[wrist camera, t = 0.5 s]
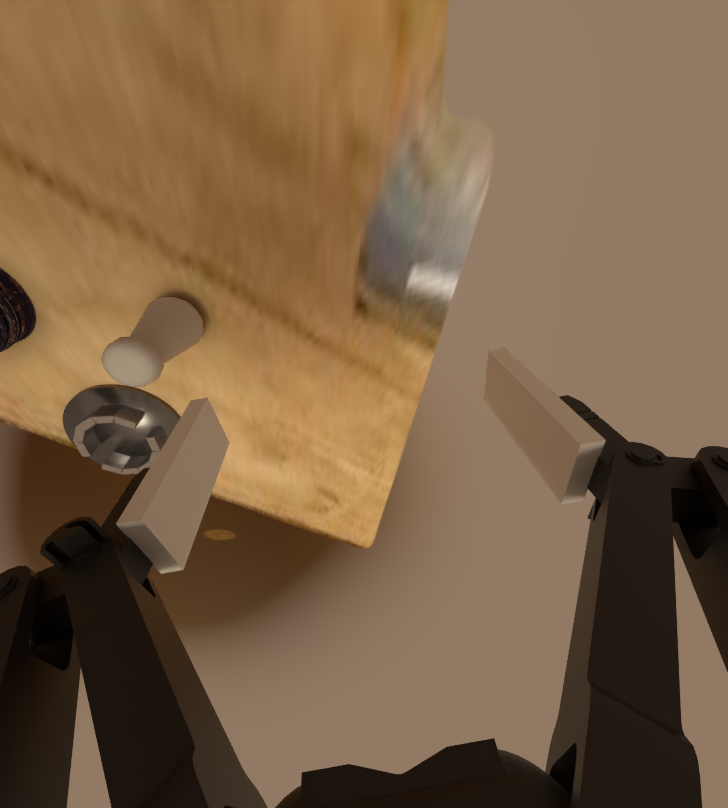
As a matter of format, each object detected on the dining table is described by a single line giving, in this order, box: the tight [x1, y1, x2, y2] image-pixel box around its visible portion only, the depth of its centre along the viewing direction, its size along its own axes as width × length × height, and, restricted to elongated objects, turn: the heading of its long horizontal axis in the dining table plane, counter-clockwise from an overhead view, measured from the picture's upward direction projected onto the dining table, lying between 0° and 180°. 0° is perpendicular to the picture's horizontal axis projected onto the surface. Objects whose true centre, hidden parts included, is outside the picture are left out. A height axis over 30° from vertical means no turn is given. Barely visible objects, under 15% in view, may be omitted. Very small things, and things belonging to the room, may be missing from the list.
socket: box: [63, 385, 181, 474], centre depth 44 cm, size 15×15×3 cm
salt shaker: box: [101, 297, 203, 387], centre depth 33 cm, size 6×6×13 cm
